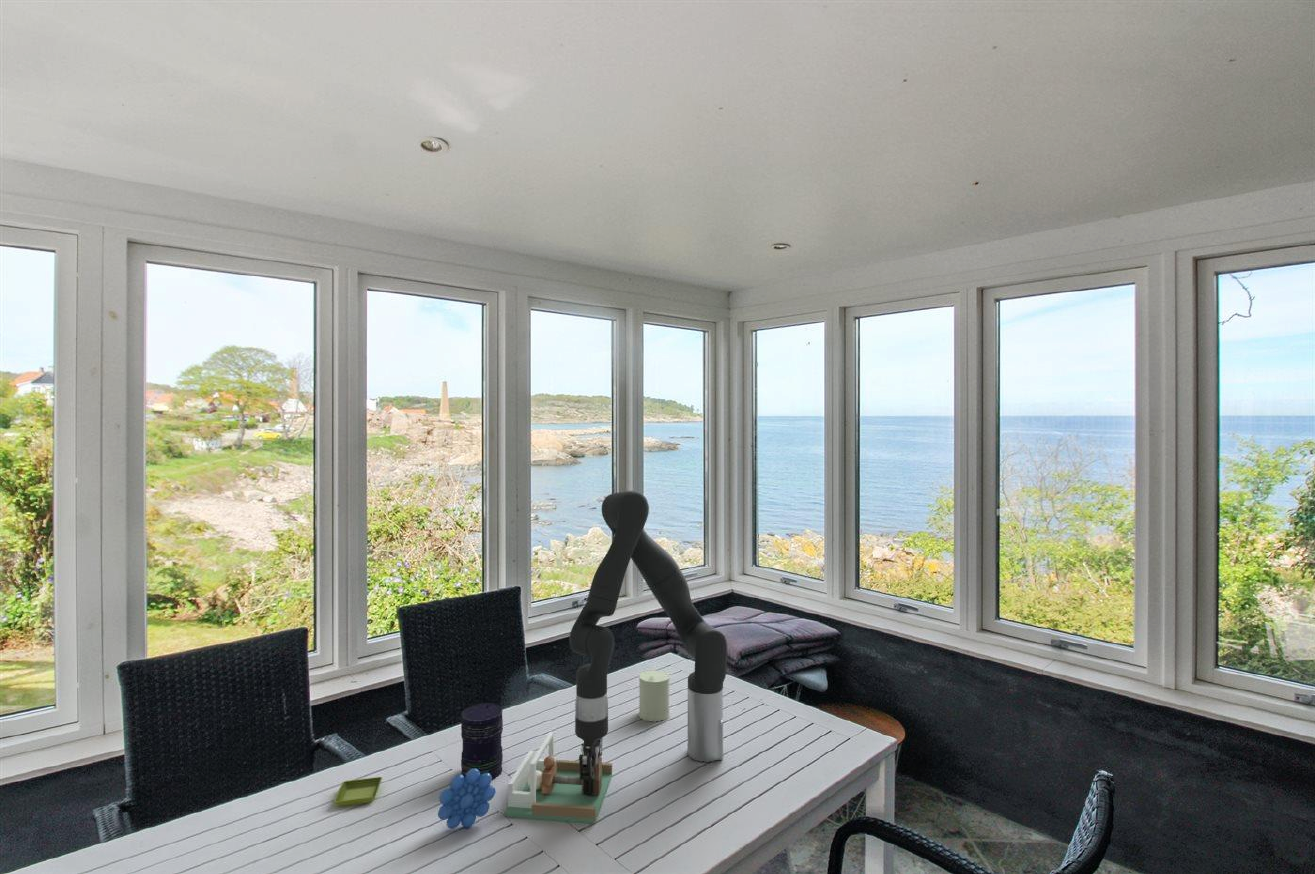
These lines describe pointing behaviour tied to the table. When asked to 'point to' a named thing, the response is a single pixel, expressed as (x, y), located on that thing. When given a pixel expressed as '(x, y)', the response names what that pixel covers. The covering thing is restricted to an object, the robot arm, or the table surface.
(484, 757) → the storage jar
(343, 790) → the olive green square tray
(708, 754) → the robot arm
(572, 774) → the pitch
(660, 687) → the can
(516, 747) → the table surface
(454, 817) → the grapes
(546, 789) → the kicker
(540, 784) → the ball
